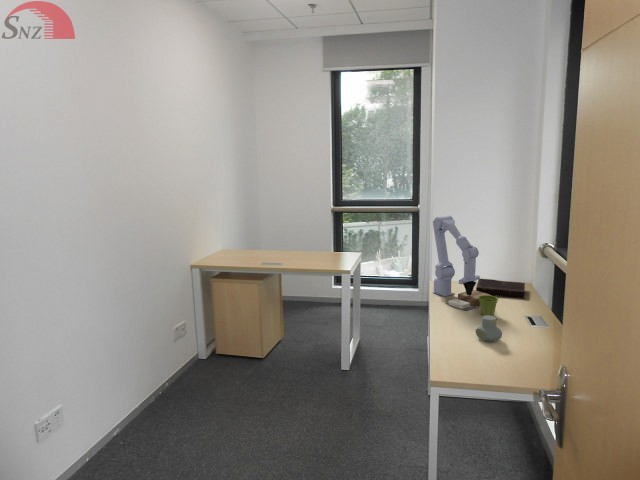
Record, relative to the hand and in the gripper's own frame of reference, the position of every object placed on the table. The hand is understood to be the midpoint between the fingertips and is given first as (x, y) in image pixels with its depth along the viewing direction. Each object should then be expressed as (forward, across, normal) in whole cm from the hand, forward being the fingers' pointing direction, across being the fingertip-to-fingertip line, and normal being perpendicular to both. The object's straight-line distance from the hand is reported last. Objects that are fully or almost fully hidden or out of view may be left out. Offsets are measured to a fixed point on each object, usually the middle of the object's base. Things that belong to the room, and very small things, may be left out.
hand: (468, 294), depth 251 cm
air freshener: (+5, -31, -36) cm, 48 cm away
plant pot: (+5, -7, -17) cm, 19 cm away
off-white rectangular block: (+2, -7, 0) cm, 8 cm away
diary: (+5, +30, +2) cm, 30 cm away
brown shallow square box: (+5, +4, 0) cm, 7 cm away
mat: (+5, -6, 0) cm, 8 cm away
